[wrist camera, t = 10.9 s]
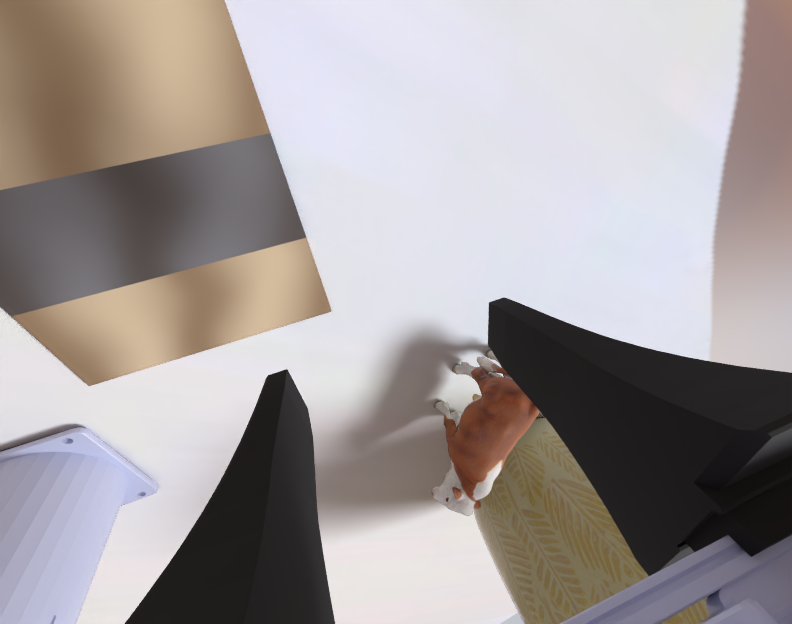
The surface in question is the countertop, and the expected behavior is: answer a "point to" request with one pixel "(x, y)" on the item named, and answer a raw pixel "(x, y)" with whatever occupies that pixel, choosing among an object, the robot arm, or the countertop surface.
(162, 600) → the robot arm
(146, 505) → the countertop surface
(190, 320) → the track board
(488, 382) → the bull figurine
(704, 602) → the vase
